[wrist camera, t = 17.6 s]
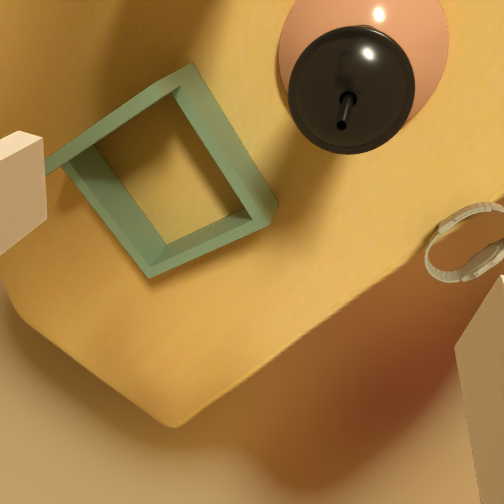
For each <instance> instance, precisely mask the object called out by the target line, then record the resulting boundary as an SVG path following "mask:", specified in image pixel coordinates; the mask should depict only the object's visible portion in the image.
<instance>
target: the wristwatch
mask: <svg viewBox="0 0 504 504" xmlns="http://www.w3.org/2000/svg"><path fill="white" fill-rule="evenodd" d="M492 209H493V210H499V211H500V212H503V213H504V207H503V206H502V205H499V204H497V203H490V202H484V203H483V202H481V203H476V204H472V205H469V206H467V207H465V208H463V209H461V210H459V211H457V212H456V213H454V214H452V215H451V216H449V217H448V218H446V219H444V220H443V221H441V222H440V223H439V227H438V229H437V230H436V231H435V232H434V234H433V235H432V236H431V238H430V239H429V241H428V243H427V245H426V250H425V265H426V268H427V270H428V272H429V273H430V274H431V275H432V276H433V277H434V278H436V279H437V280H439V281H442V282H448V283H453V282H459V280H462V281H463V282H465V281H468V280H471V279H474V278H477V277H479V276H480V275H482V274H483V273H484V272H486V271H487V270H489V269H490V268H492V267H493V266H495V265H496V264H498V263H499V262H500V261H501V260H502V259H503V258H504V238H502V239H500V240H499V241H497V242H495V243H493V244H489V245H488V246H487V247H485V248H484V249H483V250H482V251H480V252H479V253H477V254H476V255H474V256H473V257H471V258H470V260H469V261H468V262H467V263H466V264H465V265H464V266H463V267H461V268H460V269H459V270H456V271H453V272H445V271H440V270H438V269H436V268H435V267H434V266H432V265H431V263H430V262H429V259H428V251H429V249H430V247H431V246H432V244H433V243H434V241H435V240H436V239H437V238H438V237H439V236H440V235H442V234H443V233H445V232H446V231H447V230H449V229H450V228H452V227H453V226H454V225H456V223H457V222H459V221H460V220H462V219H464V218H466V217H468V216H470V215H472V214H476V213H478V212H491V211H492Z"/></svg>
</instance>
